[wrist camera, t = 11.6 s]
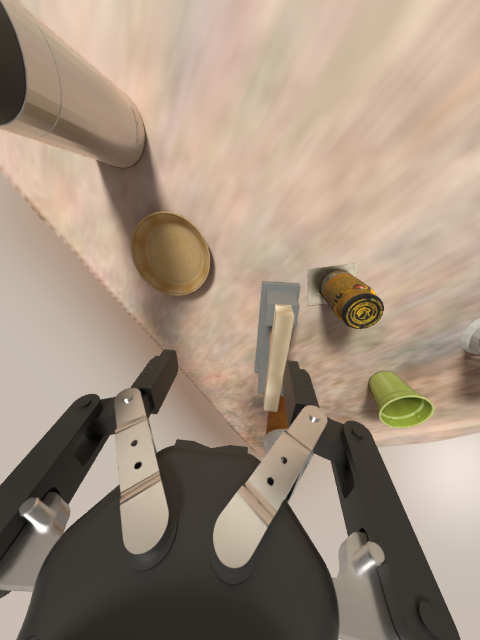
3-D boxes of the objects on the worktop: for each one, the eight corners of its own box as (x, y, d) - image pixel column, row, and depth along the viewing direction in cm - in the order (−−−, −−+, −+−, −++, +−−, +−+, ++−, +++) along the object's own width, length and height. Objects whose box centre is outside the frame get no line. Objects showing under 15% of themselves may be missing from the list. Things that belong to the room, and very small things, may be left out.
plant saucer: (130, 211, 36) (120, 211, 33) (210, 211, 34) (206, 211, 32) (147, 290, 42) (141, 294, 40) (215, 292, 41) (212, 297, 39)
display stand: (254, 368, 49) (253, 395, 41) (262, 281, 38) (261, 297, 31) (283, 370, 48) (286, 399, 41) (299, 283, 38) (307, 300, 30)
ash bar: (263, 393, 41) (263, 410, 37) (275, 304, 31) (276, 315, 28) (276, 394, 40) (277, 411, 37) (291, 305, 31) (294, 316, 28)
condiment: (353, 300, 38) (386, 333, 28) (307, 305, 40) (323, 337, 29) (357, 262, 35) (397, 283, 24) (307, 269, 36) (325, 290, 26)
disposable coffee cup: (272, 387, 51) (274, 432, 41) (306, 399, 52) (316, 446, 41) (258, 409, 56) (256, 454, 45) (289, 420, 56) (295, 467, 46)
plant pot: (414, 382, 46) (443, 416, 38) (374, 400, 49) (394, 434, 42) (392, 358, 43) (419, 388, 36) (352, 379, 47) (369, 410, 39)
